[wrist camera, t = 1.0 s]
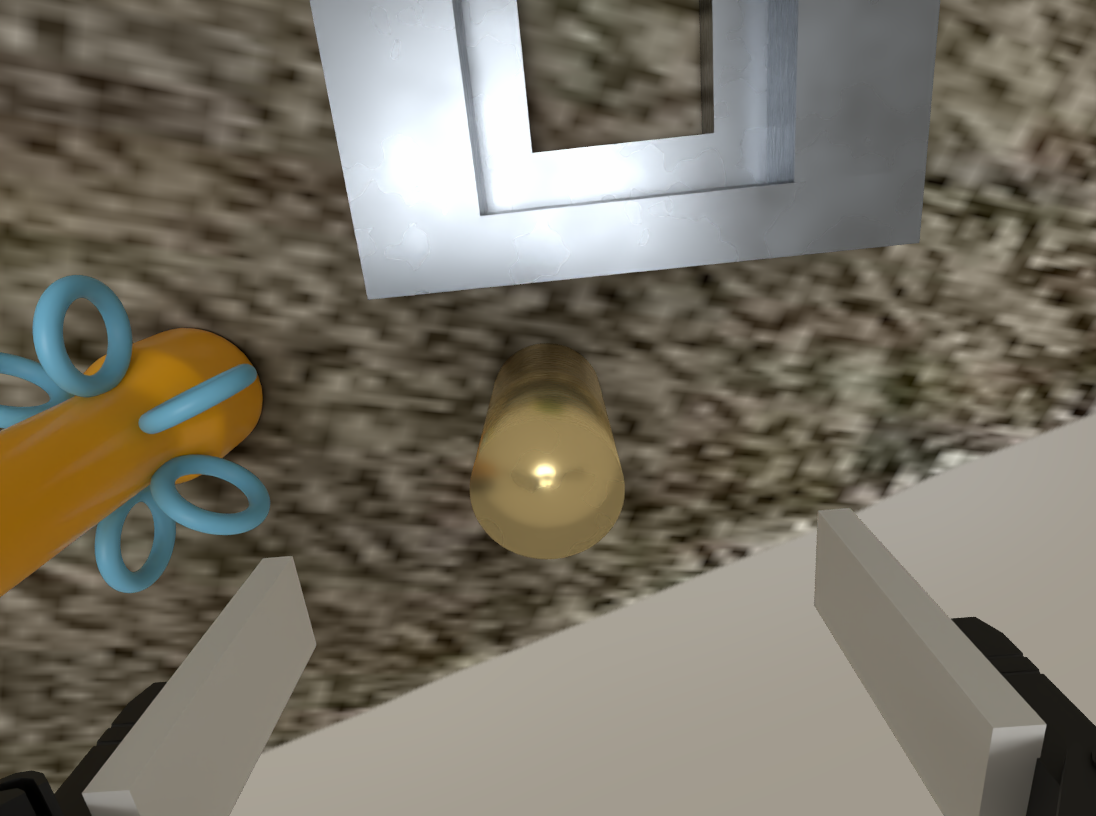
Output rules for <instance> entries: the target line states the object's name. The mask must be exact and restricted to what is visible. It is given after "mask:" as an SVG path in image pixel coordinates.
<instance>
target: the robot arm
mask: <svg viewBox="0 0 1096 816" xmlns="http://www.w3.org/2000/svg"><path fill="white" fill-rule="evenodd" d="M816 548H817V549H816V572H815V573H816V574H815V597H814V606H815V607H816V609H817V611H818V612H819V614H820V616H821V617H822V619H823V620H824V622H825V624H826V625H827V627H828V629H829V630H830V631H831V633H832V635H833V637H834V638H835V640H836V642H837V643H838V645H839V646H840V648H841V650H842V651H843V653H844V654H845V656H846V658H847V659H848V661H849V663H850V664H851V666H852V668H853V669H854V671H855V672H856V674H857V676H858V677H859V679H860V680H861V682H862V684H863V685H864V687H865V689H866V690H867V692H868V693H869V695H870V697H871V698H872V700H873V702H874V703H875V705H876V706H877V708H878V710H879V711H880V713H881V715H882V716H883V718H884V719H885V721H886V723H887V724H888V726H889V727H890V729H891V731H892V732H893V734H894V736H895V737H896V739H897V740H898V742H899V744H900V745H901V747H902V749H903V750H904V752H905V753H906V755H907V757H908V758H909V760H910V762H911V763H912V765H913V766H914V768H915V770H916V771H917V773H918V775H919V776H920V778H921V779H922V781H923V783H924V784H925V786H926V787H927V789H928V791H929V792H930V794H931V796H932V797H933V799H934V801H935V802H936V804H937V805H938V807H939V809H940V810H941V812H942V813H943V815H944V816H1096V726H1095V725H1094V724H1093V723H1092V722H1091V721H1090V720H1089V719H1088V718H1087V717H1086V716H1085V715H1084V714H1083V713H1082V712H1081V711H1080V710H1079V709H1078V708H1077V707H1076V706H1075V705H1074V704H1073V703H1072V702H1071V701H1070V700H1069V699H1068V698H1067V697H1066V696H1065V695H1064V694H1063V693H1062V692H1061V691H1060V690H1059V689H1058V688H1057V687H1056V686H1055V685H1054V684H1053V683H1052V682H1051V681H1050V680H1049V679H1048V678H1047V677H1046V676H1045V675H1044V674H1040V672H1039V669H1038V668H1037V667H1036V666H1035V665H1034V664H1033V663H1032V662H1031V661H1030V660H1029V659H1028V658H1027V657H1024V656H1023V653H1022V652H1021V651H1020V650H1019V649H1018V648H1017V647H1016V646H1015V645H1014V644H1013V643H1012V642H1011V641H1010V640H1009V639H1008V638H1007V637H1006V636H1005V635H1004V634H1003V633H1001V632H1000V631H998V630H996V629H995V628H993V627H991V626H990V625H988V624H986V623H985V622H983V621H981V620H980V619H978V618H976V617H966V618H953V619H950V618H949V617H948V615H946V613H945V612H944V611H943V610H942V609H941V608H940V607H939V606H938V604H937V603H936V602H935V601H934V600H933V599H932V598H931V597H930V596H929V595H928V593H927V592H925V590H924V589H923V588H922V587H921V586H920V585H919V584H918V582H917V581H916V580H915V579H914V578H913V577H912V576H911V575H910V574H909V573H908V572H907V570H906V569H905V568H904V567H903V566H902V565H901V564H900V563H899V562H898V560H896V558H895V557H894V556H893V555H892V554H891V553H890V552H889V551H888V549H887V548H885V546H884V545H883V544H882V543H881V542H880V541H879V540H878V539H877V537H875V535H874V534H873V533H872V532H871V531H870V530H869V529H868V528H867V527H866V526H865V524H864V523H863V522H862V521H861V520H860V519H859V518H858V517H857V515H856V514H855V513H854V512H853V511H852V510H851V509H850V508H844V509H832V510H821V511H818V523H817V547H816ZM315 647H316V641H315V638H314V634H313V630H312V626H311V623H310V619H309V615H308V612H307V608H306V604H305V600H304V597H303V593H302V589H301V586H300V582H299V578H298V574H297V571H296V567H295V563H294V560H293V556H286V557H274V558H263V559H262V560H261V562H260V563H259V564H258V565H257V567H256V568H255V569H254V571H253V572H252V573H251V575H250V576H249V577H248V578H247V580H246V581H245V582H244V584H243V585H242V586H241V588H240V589H239V590H238V591H237V593H236V594H235V595H234V597H233V598H232V599H231V600H230V602H229V603H228V604H227V606H226V607H225V608H224V610H223V611H222V612H221V613H220V615H219V616H218V617H217V619H216V620H215V621H214V623H213V624H212V625H211V626H210V628H209V629H208V630H207V632H206V633H205V634H204V635H203V637H202V638H201V639H200V641H199V642H198V643H197V645H196V646H195V647H194V648H193V650H192V651H191V652H190V654H189V655H188V656H187V658H186V659H185V660H184V661H183V663H182V664H181V665H180V667H179V668H178V669H177V670H176V672H175V673H174V674H173V676H172V677H171V678H170V680H169V681H168V682H158V683H153V684H152V685H151V686H149V687H148V688H147V689H146V690H144V691H143V692H142V693H140V694H139V695H138V696H137V697H135V698H134V699H133V700H132V701H130V702H129V703H128V704H127V706H126V707H125V708H124V709H123V711H122V712H121V713H120V714H119V715H118V717H117V718H116V719H115V720H114V722H113V723H112V726H111V728H108V729H107V730H106V731H105V733H104V734H103V735H102V736H101V738H100V739H99V740H98V741H97V745H96V746H93V747H92V749H91V750H90V751H89V752H88V754H87V755H86V756H85V757H84V758H83V760H82V761H81V762H80V763H79V765H78V766H77V767H76V768H75V769H74V771H73V772H72V773H71V774H70V776H69V777H68V778H67V779H66V780H65V782H64V783H63V784H62V785H61V787H60V788H59V789H58V790H57V792H56V793H55V794H54V793H53V791H52V789H51V787H50V785H49V783H48V781H47V779H46V778H45V776H44V774H43V773H39V772H35V771H26V772H20V773H15V774H12V775H10V776H7V777H5V778H2V779H0V816H229V815H230V813H231V811H232V809H233V807H234V805H235V804H236V802H237V799H238V798H239V796H240V794H241V792H242V790H243V788H244V786H245V784H246V782H247V780H248V778H249V776H250V774H251V772H252V770H253V768H254V766H255V764H256V762H257V761H258V759H259V757H260V755H261V753H262V751H263V749H264V747H265V745H266V743H267V741H268V739H269V737H270V735H271V733H272V731H273V729H274V727H275V725H276V723H277V721H278V719H279V717H280V716H281V714H282V712H283V710H284V708H285V706H286V704H287V702H288V700H289V698H290V696H291V694H292V692H293V690H294V688H295V686H296V684H297V682H298V680H299V678H300V676H301V674H302V673H303V671H304V669H305V667H306V665H307V663H308V661H309V659H310V657H311V655H312V653H313V651H314V649H315Z"/></svg>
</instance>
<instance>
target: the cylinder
mask: <svg viewBox="0 0 1096 816" xmlns="http://www.w3.org/2000/svg"><path fill="white" fill-rule="evenodd" d="M78 298H86V299H88V300H89V301H91V302H92V303H93V304H94V305H95V306H96V307H97V309H98V310H99V312H100V313H101V315H102V317H103V319H104V322H105V325H106V329H107V335H108V350H107V354H106V355H104V356H103V357H101V358H99V359H98V360H97V361H95V362H94V363H93V364H92V365H91V366H90V367H89V368H88V369H87V370H86V371H85V372H84V374H82V373H81V372H80V371H78V370H77V369H76V368H75V366H74V365H73V364H72V362H71V361H70V359H69V357H68V354H67V352H66V349H65V345H64V340H63V322H64V317H65V314H66V311H67V309H68V307H69V306H70V304H71V303H72V302H73V301H74V300H76V299H78ZM33 340H34V345H35V350H36V353H37V356H38V359H39V361H40V363H41V364H40V363H38V362H35V361H32V360H30V359H27V358H23V357H20V356H16V355H12V354H7V353H1V352H0V373H3V374H8V375H12V376H16V377H19V378H22V379H25V380H27V381H30V382H32V383H34V384H36V385H38V386H39V387H41V388H42V389H43V390H45V391H46V392H47V393H48V395H49V396H50V401H49V402H47V403H45V404H43V405H39V406H33V407H13V406H5V405H0V428H6V429H3V430H1V431H0V597H1V596H3V595H4V594H5V593H7V592H8V591H9V590H11V589H12V588H13V587H14V586H16V585H17V584H18V583H20V582H21V581H22V580H24V579H25V578H26V577H28V576H29V575H30V574H32V573H33V572H34V571H36V570H37V569H38V568H40V567H41V566H42V565H44V564H45V563H46V562H47V561H49V560H50V559H51V558H53V557H54V556H55V555H57V554H58V553H59V552H61V551H62V550H63V549H65V548H66V547H67V546H69V545H70V544H71V543H73V542H74V541H75V540H77V539H78V538H79V537H80V536H82V535H83V534H84V533H86V532H87V531H88V530H90V529H91V528H92V527H94V526H95V525H96V524H98V526H97V530H96V536H95V556H96V562H97V566H98V569H99V571H100V573H101V575H102V577H103V579H104V580H105V581H106V583H107V584H108V585H109V586H111V587H112V588H113V589H115V590H117V591H120V592H124V593H135V592H139V591H142V590H144V589H146V588H148V587H149V586H151V585H152V584H153V583H154V582H155V581H156V580H157V579H158V578H159V577H160V576H161V574H162V573H163V572H164V570H165V568H166V566H167V565H168V562H169V560H170V558H171V555H172V552H173V548H174V543H175V536H176V522H177V523H179V524H181V525H183V526H185V527H188V528H190V529H193V530H196V531H199V532H203V533H208V534H215V535H233V534H240V533H244V532H247V531H249V530H252V529H254V528H255V527H257V526H258V525H260V524H261V523H262V522H263V521H264V520H265V518H266V517H267V515H268V513H269V509H270V497H269V494H268V491H267V489H266V488H265V486H264V485H263V483H262V482H261V481H260V480H259V479H258V478H257V477H256V476H255V475H254V474H253V473H251V472H250V471H248V470H247V469H245V468H244V467H242V466H240V465H238V464H236V463H234V462H231V461H228V460H226V459H222V458H223V457H224V456H225V455H226V454H228V453H229V452H230V451H231V450H232V449H233V448H235V447H236V446H237V445H238V444H239V443H241V442H242V441H243V440H244V439H245V438H246V437H247V436H248V435H249V434H250V433H251V432H252V431H253V429H254V428H255V426H256V424H257V422H258V420H259V418H260V415H261V410H262V403H263V396H262V387H261V384H260V380H259V376H258V374H257V372H256V370H255V368H254V367H253V365H252V363H251V362H250V361H249V360H248V358H247V357H246V355H245V354H244V353H243V352H242V351H240V350H239V349H238V348H237V347H236V346H235V345H234V344H232V343H231V342H229V341H228V340H226V339H225V338H223V337H221V336H218V335H216V334H214V333H212V332H208V331H204V330H200V329H194V328H177V329H171V330H167V331H164V332H161V333H158V334H156V335H153V336H151V337H148V338H146V339H143V340H140V341H138V342H135V343H133V344H132V332H131V326H130V322H129V319H128V316H127V313H126V311H125V309H124V307H123V305H122V303H121V301H120V300H119V298H118V297H117V296H116V295H115V293H114V292H113V291H112V290H111V289H110V288H109V287H107V286H106V285H105V284H104V283H102V282H100V281H99V280H97V279H94V278H92V277H88V276H83V275H71V276H66V277H63V278H61V279H59V280H57V281H55V282H54V283H52V284H51V285H50V286H49V287H48V288H47V289H46V290H45V291H44V293H43V294H42V296H41V297H40V299H39V301H38V304H37V306H36V310H35V313H34V319H33ZM201 474H204V475H210V476H214V477H218V478H221V479H223V480H226V481H228V482H230V483H232V484H233V485H235V486H236V487H238V488H239V489H240V490H241V491H242V492H243V493H244V494H245V495H246V497H247V498H248V501H249V506H248V508H247V509H246V510H244V511H242V512H239V513H233V514H223V513H215V512H211V511H207V510H204V509H202V508H199V507H197V506H195V505H193V504H191V503H190V502H188V501H187V500H185V499H184V498H183V497H182V496H181V495H180V494H179V493H178V491H177V490H176V488H175V484H180V483H184V482H187V481H189V480H192V479H194V478H196V477H198V476H200V475H201ZM138 502H144V503H145V504H146V505H147V506H148V507H149V509H150V510H151V513H152V516H153V520H154V529H155V531H154V541H153V546H152V549H151V552H150V555H149V557H148V559H147V561H146V562H145V564H144V565H143V566H142V567H141V568H140V569H139V570H138V571H136V572H131V571H129V570H128V569H127V567H126V566H125V564H124V562H123V559H122V555H121V549H120V539H121V532H122V527H123V524H124V521H125V519H126V516H127V514H128V513H129V511H130V510H131V508H132V507H133V506H134V505H135V504H136V503H138Z"/></svg>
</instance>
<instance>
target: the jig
mask: <svg viewBox="0 0 1096 816" xmlns="http://www.w3.org/2000/svg"><path fill="white" fill-rule="evenodd" d="M699 1H700V49H701V96H702V134H701V135H692V136H683V137H674V138H665V139H656V140H646V141H637V142H628V143H619V144H610V145H601V146H592V147H583V148H574V149H565V150H555V151H546V152H537V153H533V149H532V139H531V129H530V119H529V110H528V100H527V90H526V80H525V71H524V61H523V51H522V41H521V31H520V22H519V12H518V2H517V0H310V4H311V9H312V15H313V20H314V25H315V30H316V35H317V40H318V45H319V50H320V56H321V61H322V66H323V71H324V76H325V81H326V86H327V92H328V97H329V102H330V107H331V112H332V117H333V122H334V127H335V133H336V138H337V143H338V148H339V153H340V158H341V163H342V169H343V174H344V179H345V184H346V189H347V194H348V199H349V204H350V210H351V215H352V220H353V225H354V230H355V235H356V240H357V245H358V251H359V256H360V261H361V266H362V271H363V276H364V281H365V287H366V292H367V297H368V300H370V299H380V298H389V297H399V296H409V295H418V294H428V293H438V292H448V291H457V290H467V289H477V288H486V287H496V286H506V285H515V284H525V283H535V282H544V281H554V280H564V279H573V278H583V277H593V276H602V275H612V274H622V273H631V272H641V271H651V270H660V269H670V268H680V267H689V266H699V265H709V264H719V263H728V262H738V261H748V260H757V259H767V258H777V257H786V256H796V255H806V254H815V253H825V252H835V251H844V250H854V249H864V248H873V247H883V246H893V245H902V244H912V243H919V239H920V228H921V216H922V205H923V193H924V182H925V170H926V158H927V147H928V135H929V124H930V112H931V101H932V89H933V77H934V66H935V54H936V43H937V31H938V20H939V8H940V0H699Z"/></svg>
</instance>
